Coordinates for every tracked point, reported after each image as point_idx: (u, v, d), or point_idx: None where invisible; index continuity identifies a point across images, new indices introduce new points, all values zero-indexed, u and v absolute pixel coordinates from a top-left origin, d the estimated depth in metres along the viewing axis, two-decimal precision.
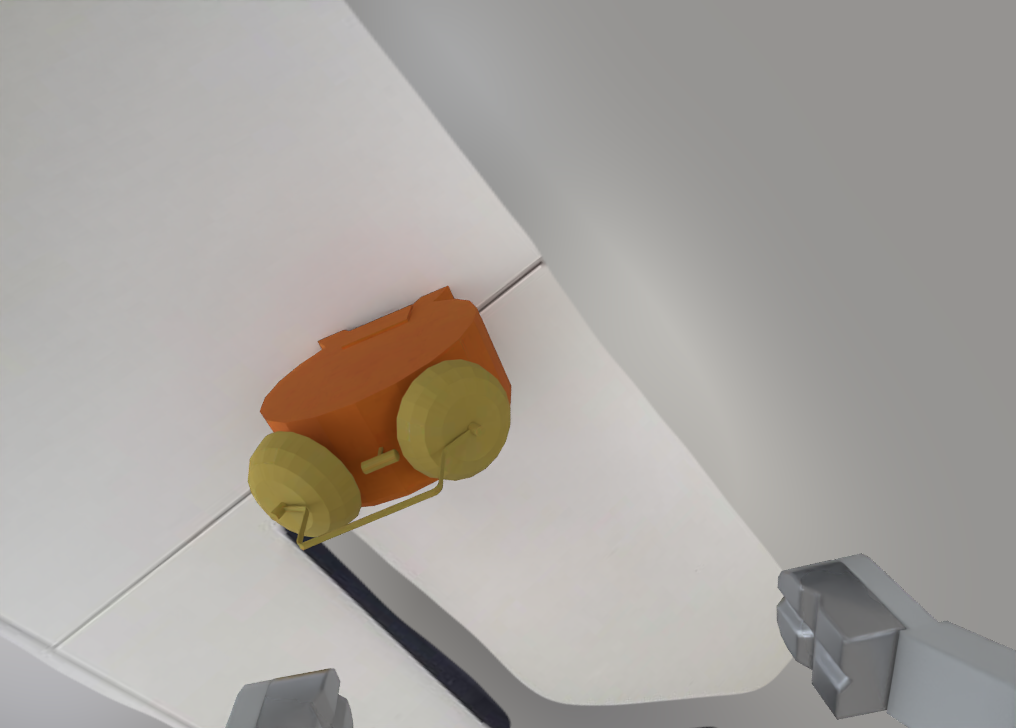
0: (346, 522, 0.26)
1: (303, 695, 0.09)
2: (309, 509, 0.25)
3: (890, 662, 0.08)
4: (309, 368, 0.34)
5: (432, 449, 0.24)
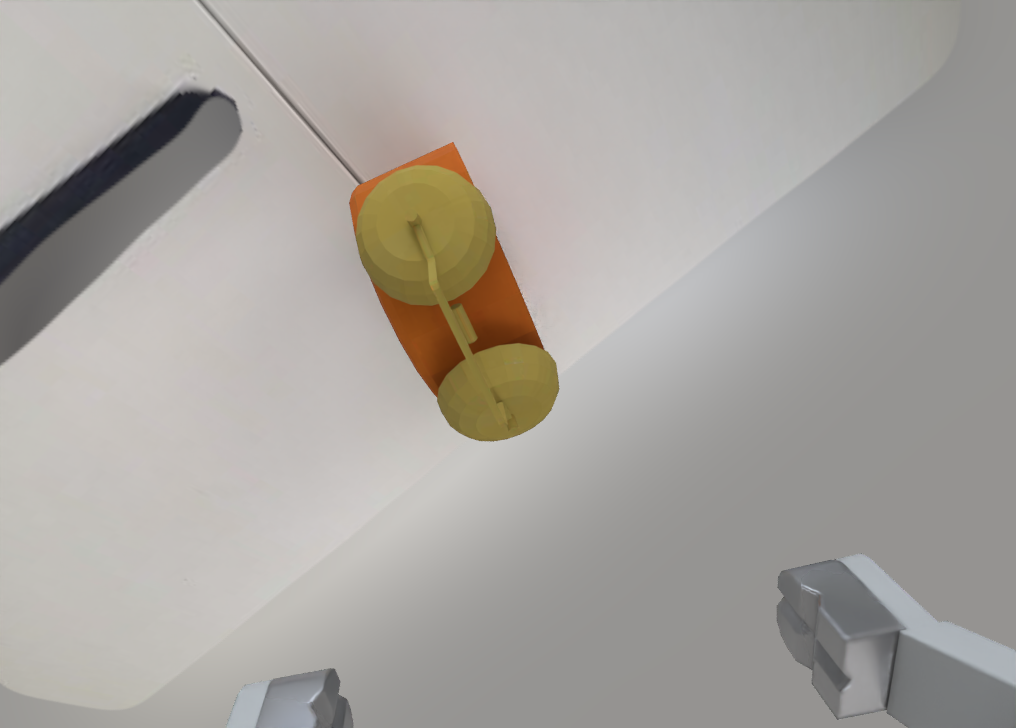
0: (392, 290, 0.22)
1: (303, 695, 0.09)
2: (424, 259, 0.21)
3: (890, 662, 0.08)
4: None
5: (499, 389, 0.23)
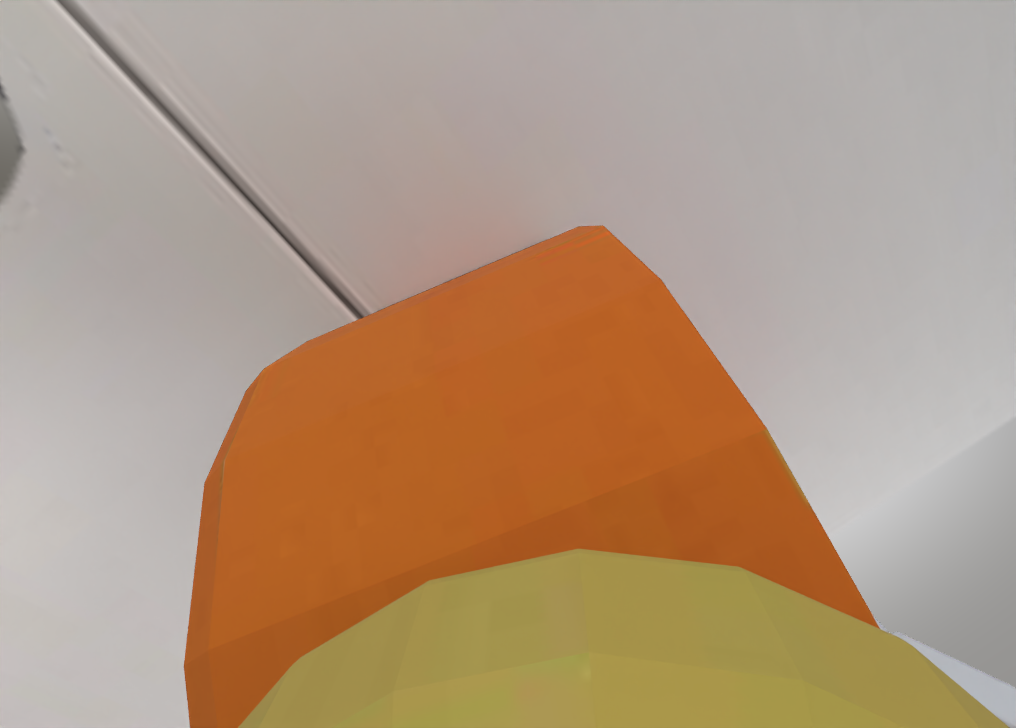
0: None
1: None
2: None
3: None
4: None
5: None
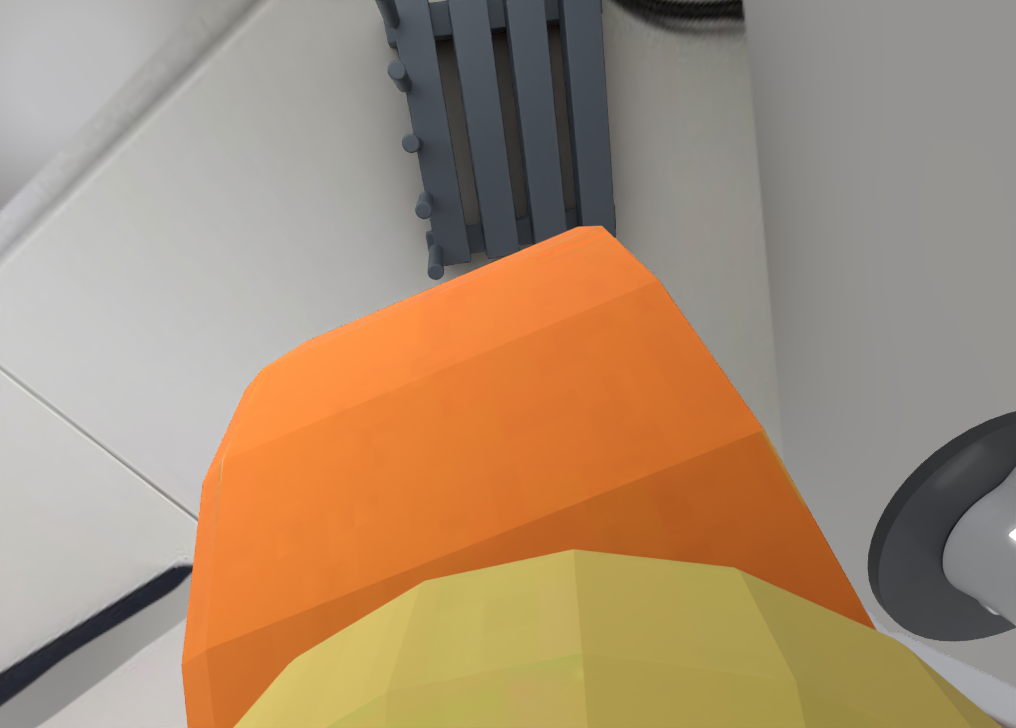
0: None
1: None
2: None
3: None
4: None
5: None
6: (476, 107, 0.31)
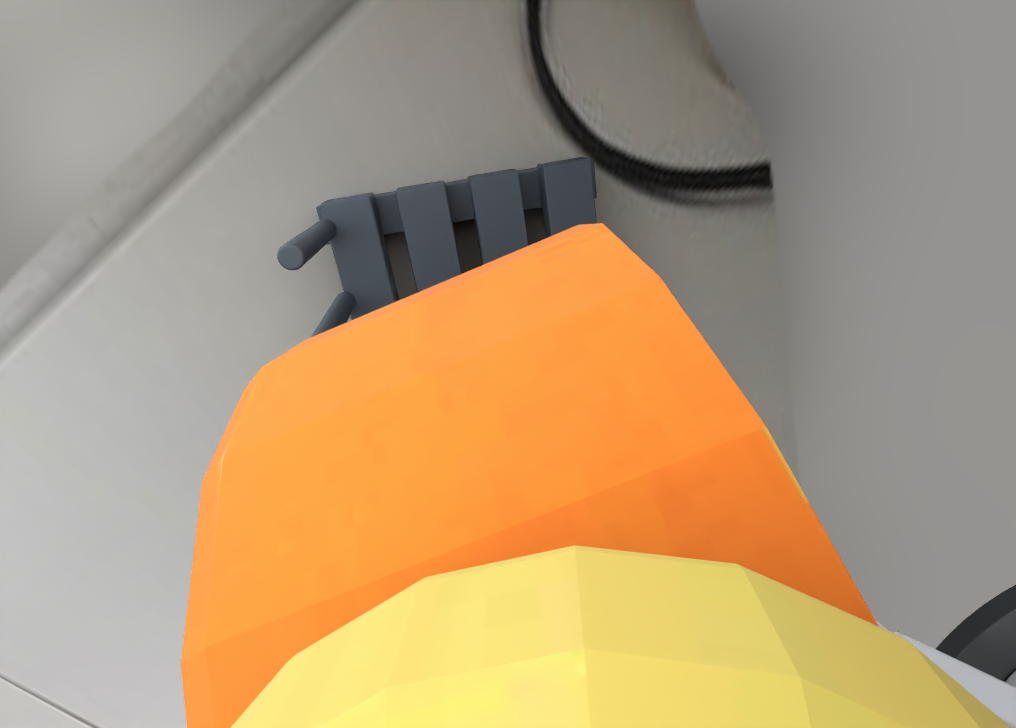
0: None
1: None
2: None
3: None
4: None
5: None
6: None
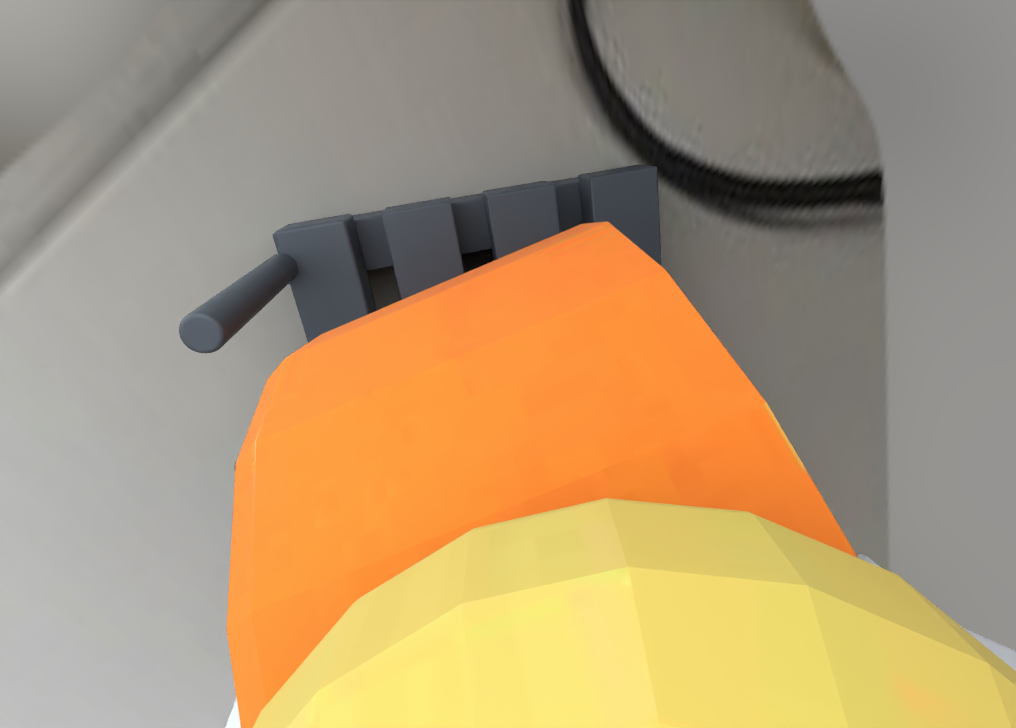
0: None
1: None
2: None
3: None
4: None
5: None
6: None
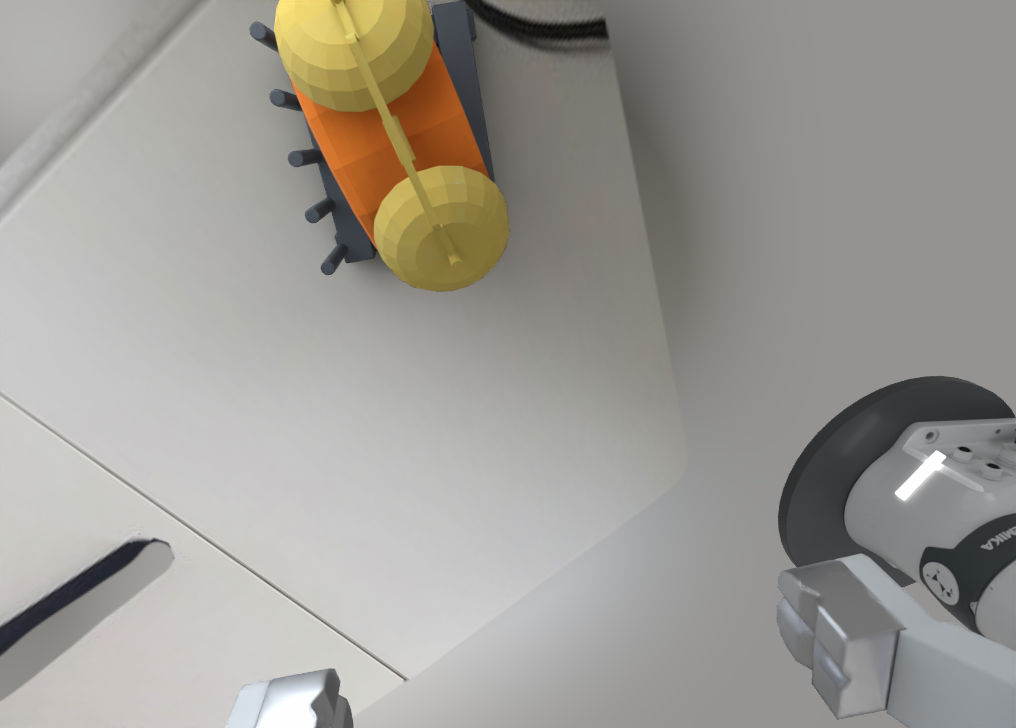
0: (315, 88, 0.20)
1: (303, 695, 0.09)
2: None
3: (890, 662, 0.08)
4: None
5: (439, 211, 0.21)
6: None
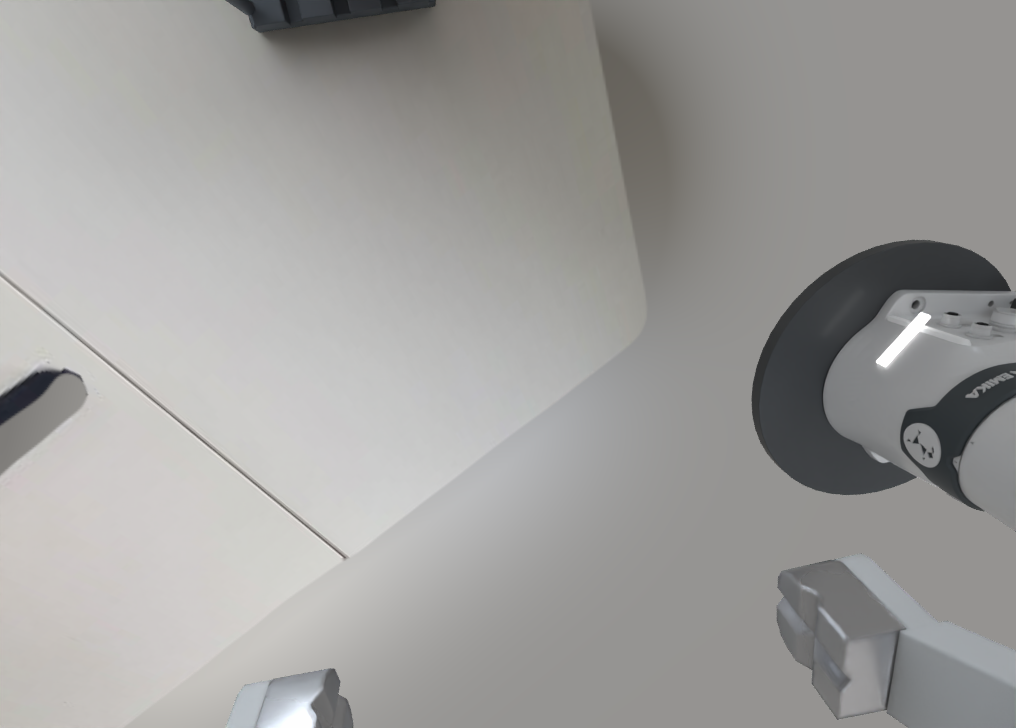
0: None
1: (303, 695, 0.09)
2: None
3: (890, 662, 0.08)
4: None
5: None
6: None
